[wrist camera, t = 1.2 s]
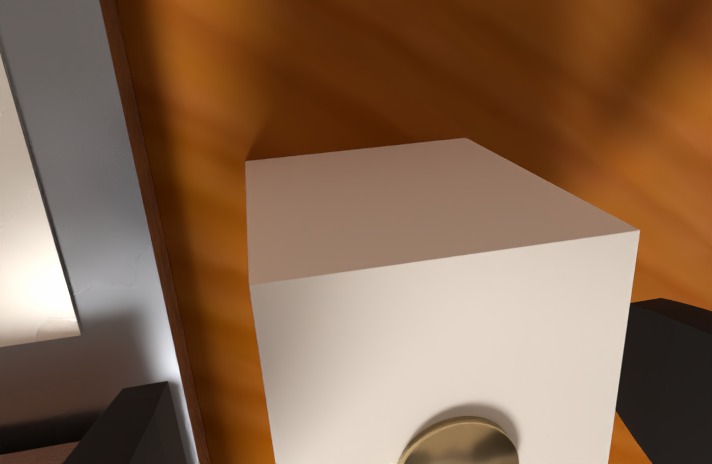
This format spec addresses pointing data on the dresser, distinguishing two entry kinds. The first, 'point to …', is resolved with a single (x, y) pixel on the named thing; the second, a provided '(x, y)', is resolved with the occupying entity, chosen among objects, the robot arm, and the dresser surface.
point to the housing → (434, 308)
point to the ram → (40, 455)
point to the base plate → (79, 234)
